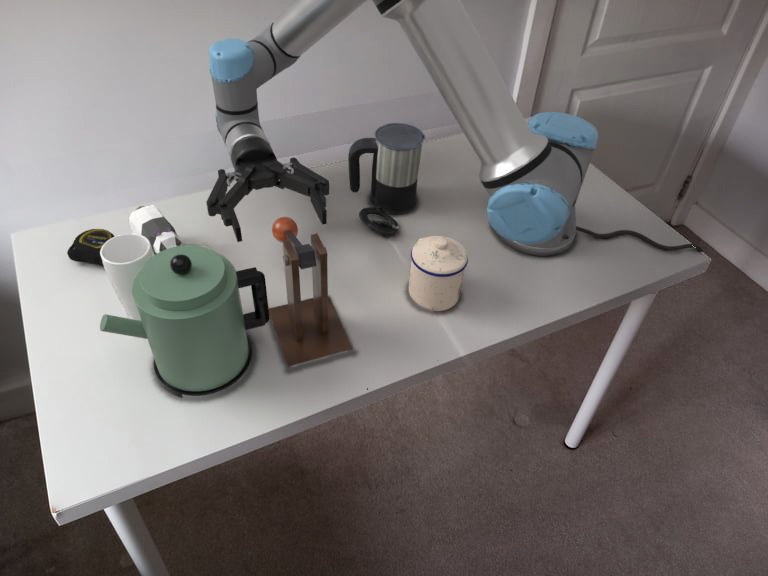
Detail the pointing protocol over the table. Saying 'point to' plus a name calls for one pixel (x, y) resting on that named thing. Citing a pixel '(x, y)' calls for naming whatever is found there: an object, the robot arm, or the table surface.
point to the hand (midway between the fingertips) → (282, 226)
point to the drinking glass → (125, 266)
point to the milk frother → (388, 173)
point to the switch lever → (294, 241)
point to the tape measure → (89, 246)
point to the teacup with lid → (437, 272)
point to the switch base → (307, 312)
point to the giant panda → (154, 228)
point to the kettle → (194, 318)
